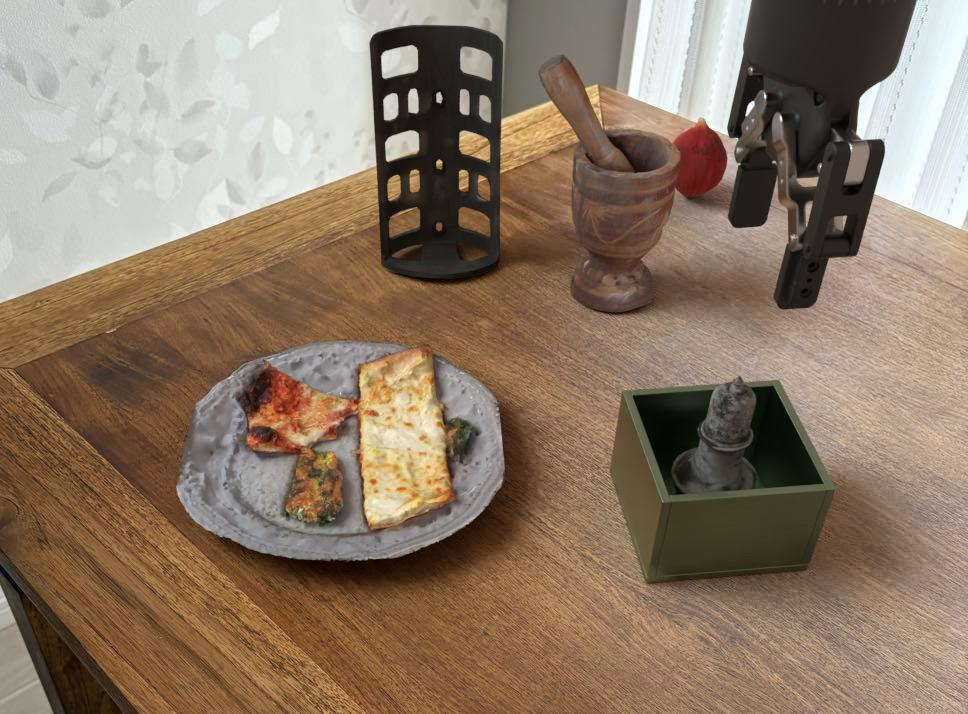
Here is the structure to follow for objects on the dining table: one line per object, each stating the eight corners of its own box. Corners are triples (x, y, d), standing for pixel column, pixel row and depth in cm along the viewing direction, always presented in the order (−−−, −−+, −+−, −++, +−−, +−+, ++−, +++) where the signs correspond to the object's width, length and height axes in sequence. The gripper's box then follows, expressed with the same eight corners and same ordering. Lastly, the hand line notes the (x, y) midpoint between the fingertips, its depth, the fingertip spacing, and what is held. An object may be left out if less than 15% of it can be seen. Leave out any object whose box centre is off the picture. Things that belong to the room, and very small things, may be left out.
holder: (383, 286, 99) (375, 51, 86) (373, 249, 104) (364, 22, 91) (505, 277, 100) (515, 43, 87) (488, 240, 106) (496, 16, 93)
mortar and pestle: (533, 321, 95) (551, 93, 81) (521, 266, 101) (535, 44, 87) (666, 316, 96) (707, 88, 82) (646, 261, 102) (681, 40, 88)
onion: (730, 196, 110) (747, 118, 104) (697, 219, 107) (713, 140, 101) (681, 176, 113) (695, 99, 107) (648, 197, 110) (660, 119, 104)
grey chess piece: (765, 519, 78) (807, 384, 69) (704, 554, 76) (739, 418, 67) (706, 472, 81) (739, 337, 73) (646, 504, 79) (672, 369, 70)
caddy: (756, 460, 83) (779, 379, 78) (807, 570, 75) (836, 489, 70) (609, 471, 82) (622, 390, 77) (645, 583, 75) (662, 502, 69)
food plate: (210, 359, 92) (204, 323, 89) (492, 357, 92) (493, 321, 89) (163, 585, 75) (154, 549, 72) (510, 582, 75) (513, 546, 72)
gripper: (987, 17, 47) (879, 331, 59) (862, -92, 57) (790, 196, 69) (816, 26, 47) (741, 341, 59) (720, -85, 57) (672, 203, 68)
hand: (768, 262), depth 64 cm, fingers open, 8 cm apart
